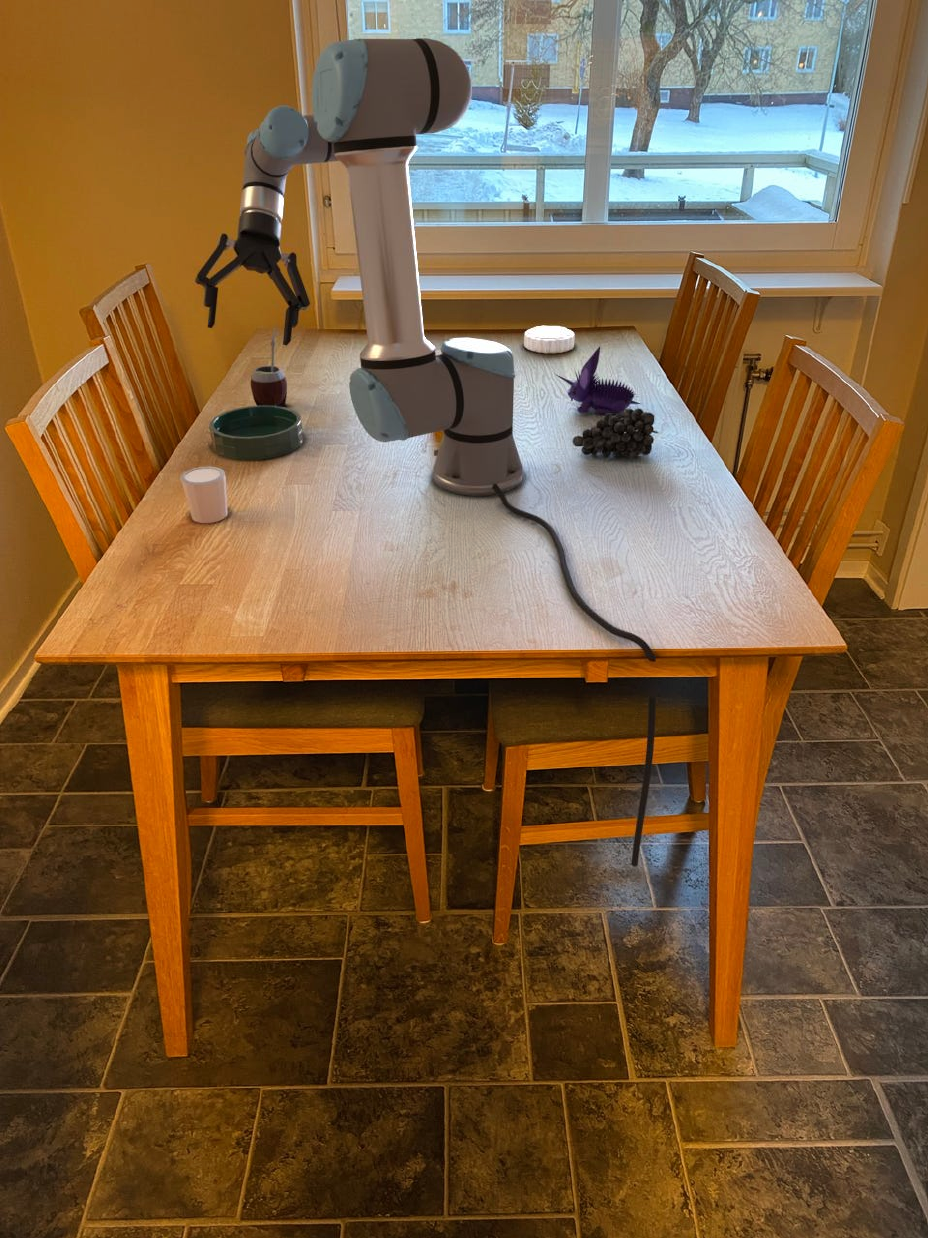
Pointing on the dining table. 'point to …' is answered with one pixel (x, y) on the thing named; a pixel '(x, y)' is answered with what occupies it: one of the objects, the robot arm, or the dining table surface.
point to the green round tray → (256, 432)
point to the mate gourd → (269, 383)
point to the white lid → (549, 339)
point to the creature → (598, 391)
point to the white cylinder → (205, 493)
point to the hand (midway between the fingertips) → (249, 334)
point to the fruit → (619, 435)
